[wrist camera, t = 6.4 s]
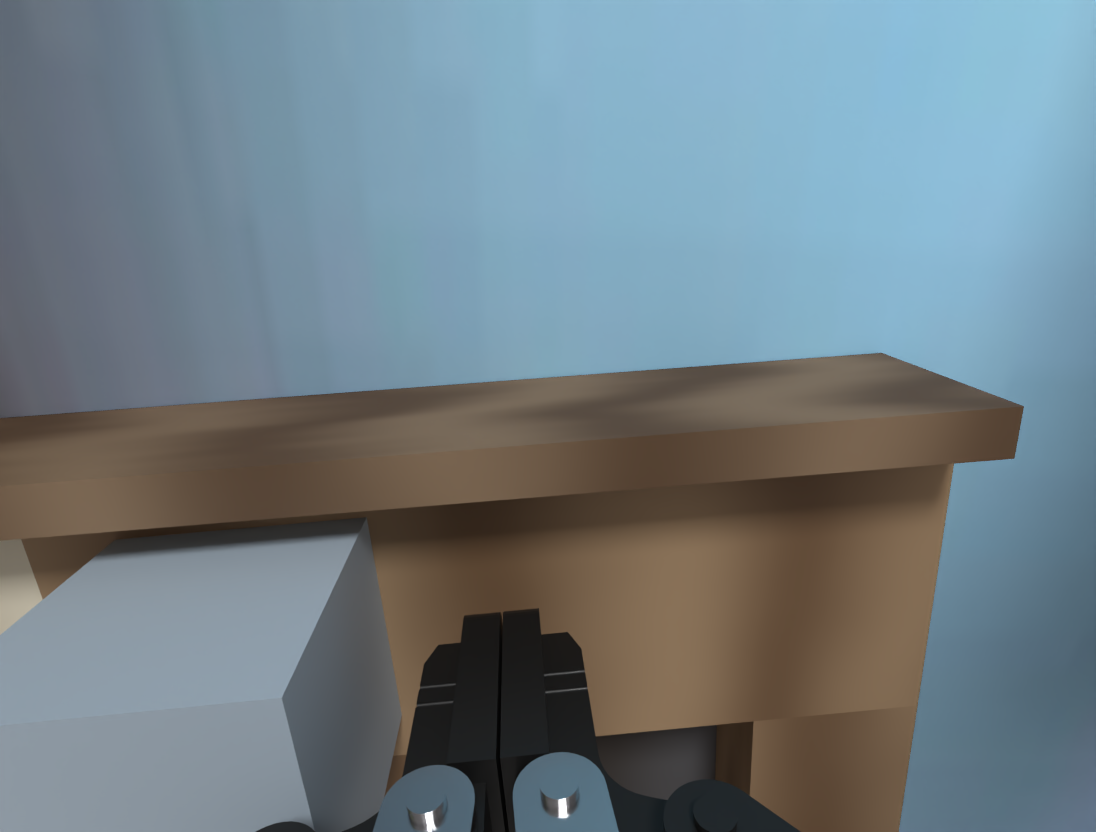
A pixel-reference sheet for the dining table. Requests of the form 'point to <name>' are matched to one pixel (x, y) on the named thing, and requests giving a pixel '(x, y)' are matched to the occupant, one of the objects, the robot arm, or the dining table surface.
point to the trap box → (590, 542)
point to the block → (203, 687)
